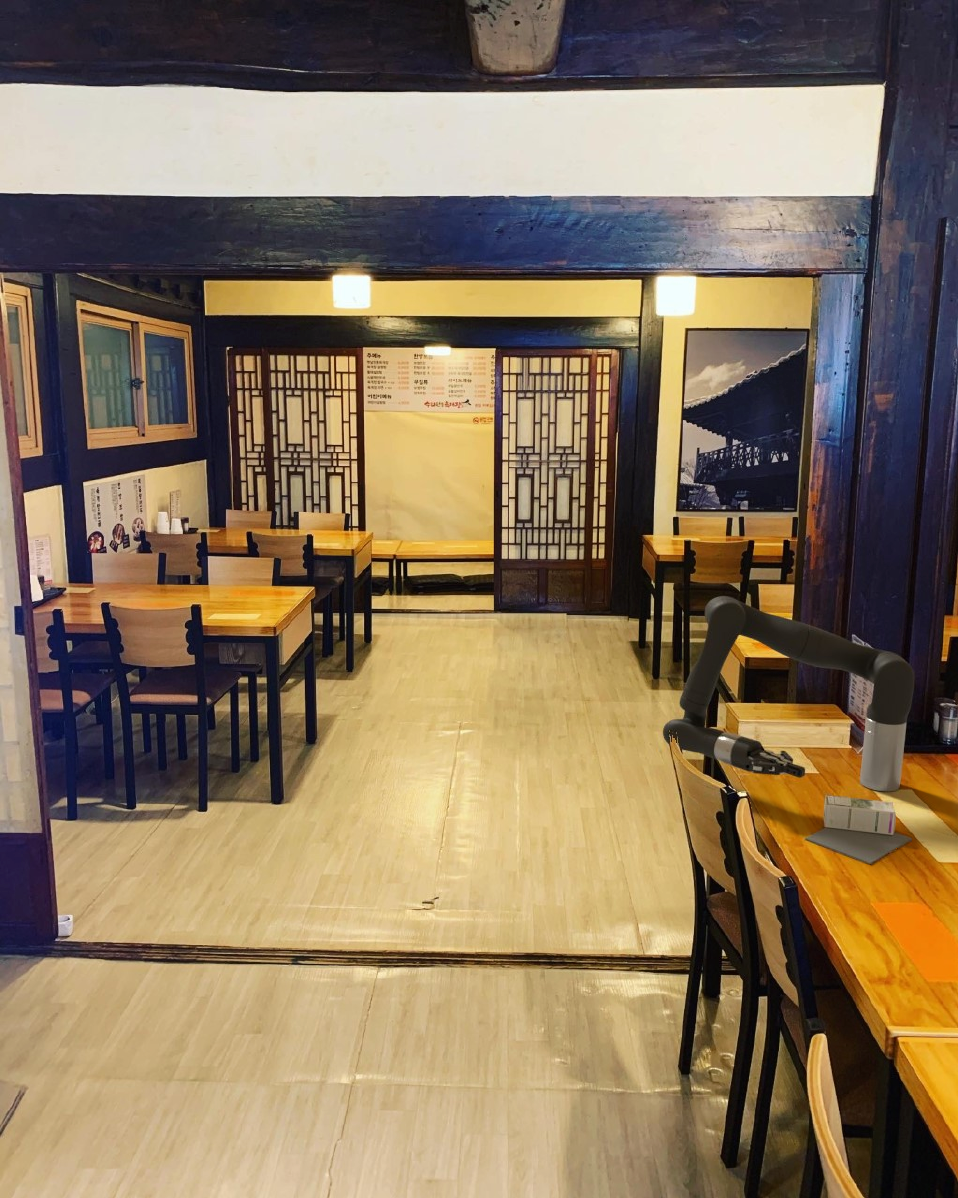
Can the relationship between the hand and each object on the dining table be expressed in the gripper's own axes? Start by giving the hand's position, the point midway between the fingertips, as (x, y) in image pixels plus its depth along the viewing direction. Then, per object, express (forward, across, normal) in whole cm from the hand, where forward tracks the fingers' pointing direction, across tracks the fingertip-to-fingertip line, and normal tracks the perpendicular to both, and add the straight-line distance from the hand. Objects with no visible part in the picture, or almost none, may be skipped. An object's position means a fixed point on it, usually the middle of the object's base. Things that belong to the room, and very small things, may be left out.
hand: (803, 773), depth 225 cm
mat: (+14, 0, +11) cm, 18 cm away
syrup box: (+5, +1, +8) cm, 9 cm away
